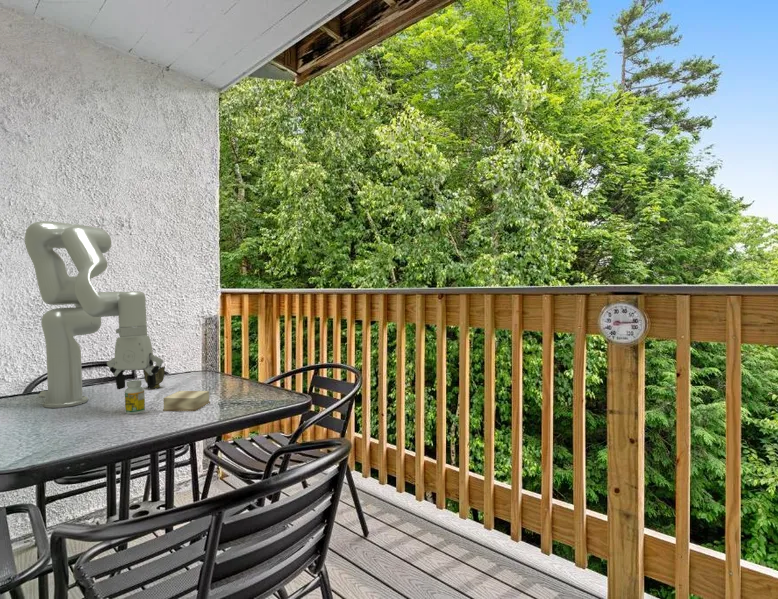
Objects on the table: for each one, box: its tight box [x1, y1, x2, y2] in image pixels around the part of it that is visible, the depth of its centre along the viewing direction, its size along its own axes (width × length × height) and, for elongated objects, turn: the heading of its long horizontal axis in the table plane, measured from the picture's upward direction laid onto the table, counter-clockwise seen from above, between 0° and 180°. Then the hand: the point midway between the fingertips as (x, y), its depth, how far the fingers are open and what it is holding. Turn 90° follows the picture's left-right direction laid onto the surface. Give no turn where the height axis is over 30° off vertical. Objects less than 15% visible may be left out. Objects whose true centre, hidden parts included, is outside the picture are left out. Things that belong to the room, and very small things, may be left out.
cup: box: [142, 365, 166, 390], centre depth 187 cm, size 8×7×8 cm
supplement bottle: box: [124, 379, 146, 415], centre depth 152 cm, size 5×5×10 cm
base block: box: [162, 390, 211, 412], centre depth 159 cm, size 10×10×4 cm
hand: (136, 388), depth 152 cm, fingers open, 9 cm apart
